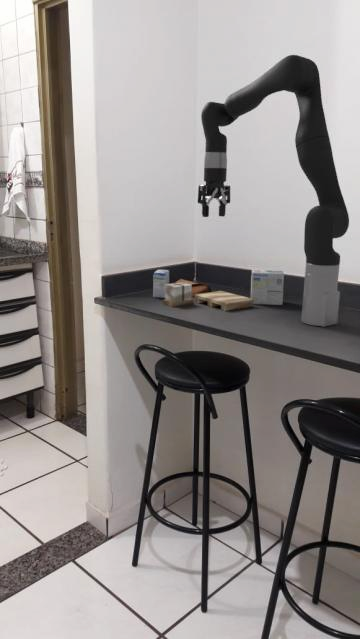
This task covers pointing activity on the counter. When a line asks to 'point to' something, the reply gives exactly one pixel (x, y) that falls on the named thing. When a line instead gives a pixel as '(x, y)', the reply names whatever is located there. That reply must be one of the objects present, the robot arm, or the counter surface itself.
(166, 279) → the medicine box
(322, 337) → the counter surface
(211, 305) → the dock
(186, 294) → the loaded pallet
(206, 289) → the sunglasses case
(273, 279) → the light bulb box
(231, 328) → the counter surface
